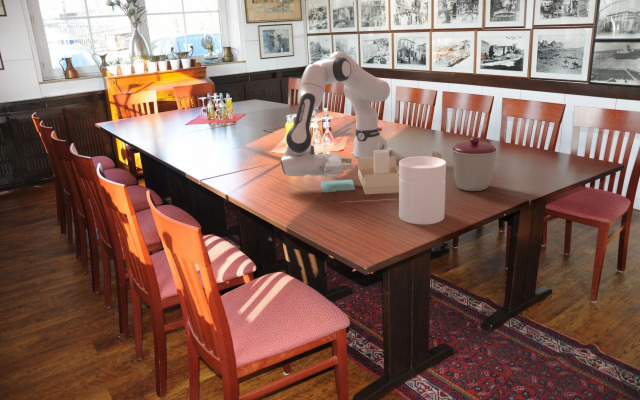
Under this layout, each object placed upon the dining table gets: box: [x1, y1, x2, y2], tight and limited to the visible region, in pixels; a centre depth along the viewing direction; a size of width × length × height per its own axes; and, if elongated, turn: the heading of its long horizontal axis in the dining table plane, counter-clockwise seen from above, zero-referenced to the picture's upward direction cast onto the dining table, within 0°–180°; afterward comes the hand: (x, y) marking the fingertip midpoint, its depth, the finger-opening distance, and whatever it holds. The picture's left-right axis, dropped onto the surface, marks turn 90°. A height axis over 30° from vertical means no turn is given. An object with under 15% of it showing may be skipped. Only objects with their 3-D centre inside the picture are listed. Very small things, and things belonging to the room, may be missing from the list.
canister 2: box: [450, 136, 499, 192], centre depth 210 cm, size 18×18×21 cm
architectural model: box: [429, 150, 442, 159], centre depth 244 cm, size 3×7×7 cm, turn 32°
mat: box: [320, 179, 356, 193], centre depth 223 cm, size 14×14×1 cm
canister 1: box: [398, 155, 447, 225], centre depth 183 cm, size 16×16×20 cm
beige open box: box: [357, 155, 399, 195], centre depth 222 cm, size 17×27×8 cm, turn 2°
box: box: [373, 150, 390, 174], centre depth 221 cm, size 6×5×14 cm
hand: (352, 163), depth 220 cm, fingers open, 8 cm apart
